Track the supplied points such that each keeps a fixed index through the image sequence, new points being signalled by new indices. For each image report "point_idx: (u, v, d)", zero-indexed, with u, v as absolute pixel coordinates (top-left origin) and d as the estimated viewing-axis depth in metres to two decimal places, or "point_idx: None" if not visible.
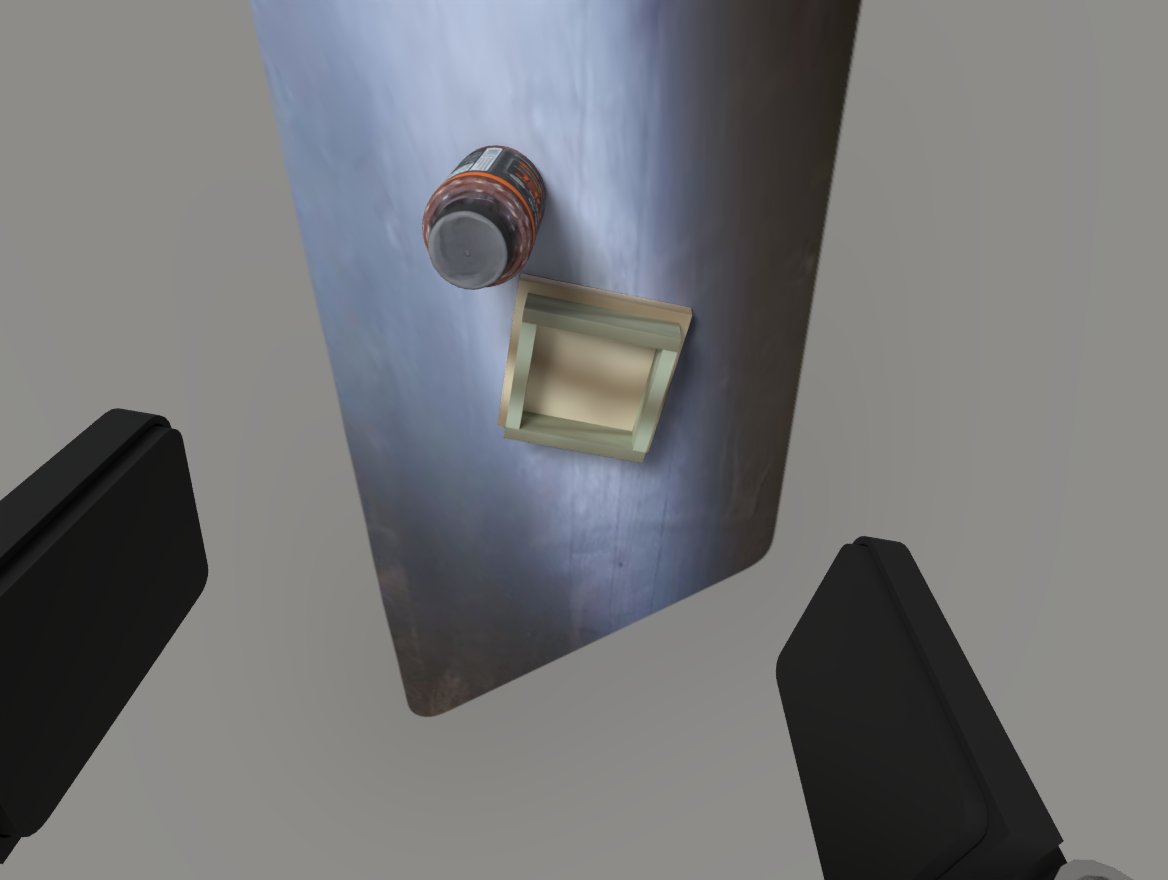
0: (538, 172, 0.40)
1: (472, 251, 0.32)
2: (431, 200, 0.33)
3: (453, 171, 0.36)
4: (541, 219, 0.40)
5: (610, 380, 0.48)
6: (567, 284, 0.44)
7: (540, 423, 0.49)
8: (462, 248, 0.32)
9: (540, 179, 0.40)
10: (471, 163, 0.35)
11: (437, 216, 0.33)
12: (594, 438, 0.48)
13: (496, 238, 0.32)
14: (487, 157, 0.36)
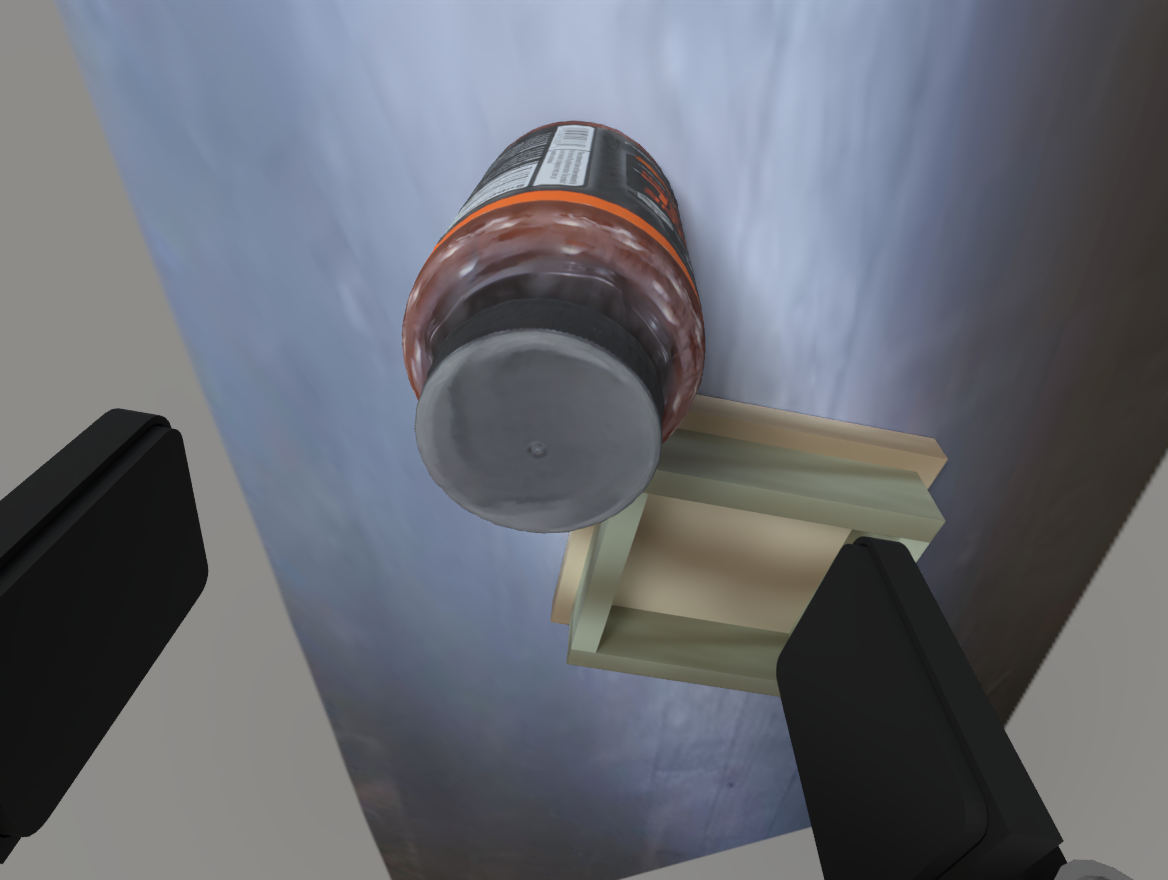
0: None
1: (553, 445, 0.10)
2: (425, 275, 0.11)
3: (483, 184, 0.14)
4: None
5: (764, 561, 0.26)
6: (700, 399, 0.23)
7: (631, 632, 0.27)
8: (522, 437, 0.10)
9: (674, 197, 0.18)
10: (531, 164, 0.14)
11: (443, 324, 0.11)
12: (730, 661, 0.27)
13: (633, 410, 0.10)
14: (568, 148, 0.14)
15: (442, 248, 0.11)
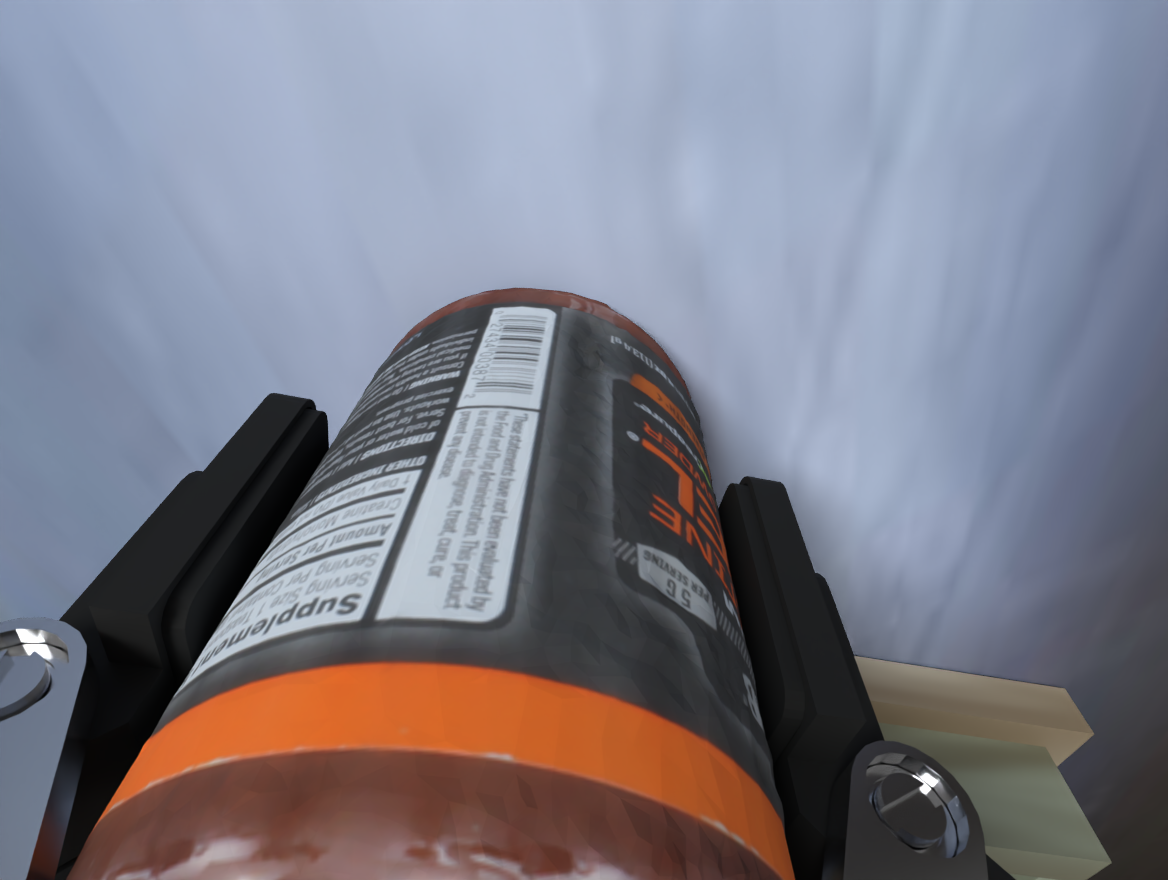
0: (681, 377, 0.11)
1: None
2: None
3: (326, 473, 0.07)
4: None
5: None
6: None
7: None
8: None
9: (694, 411, 0.10)
10: (409, 469, 0.06)
11: None
12: None
13: None
14: (497, 401, 0.07)
15: (94, 869, 0.04)
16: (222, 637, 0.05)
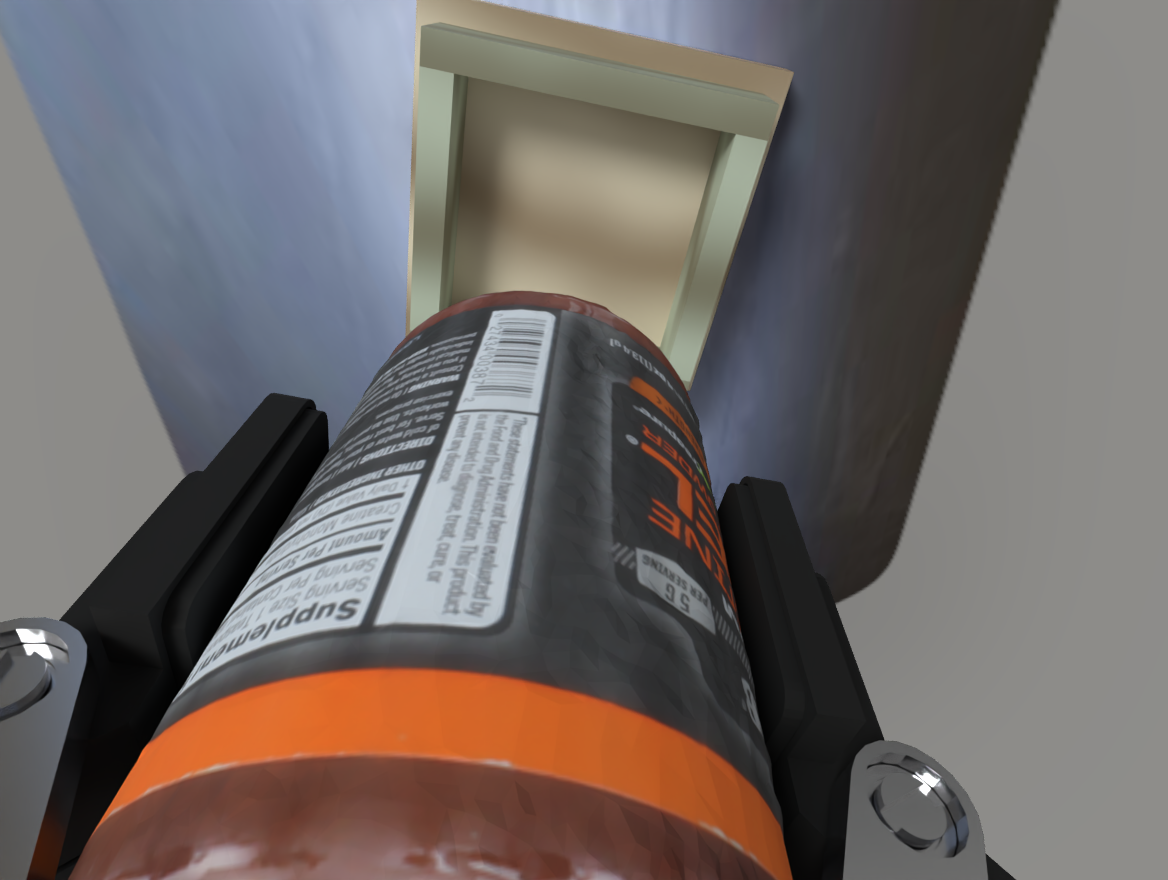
0: (680, 380, 0.11)
1: None
2: None
3: (325, 477, 0.07)
4: None
5: (619, 236, 0.24)
6: None
7: None
8: None
9: (694, 414, 0.10)
10: (408, 473, 0.06)
11: None
12: None
13: None
14: (496, 405, 0.07)
15: (92, 876, 0.04)
16: (221, 642, 0.05)
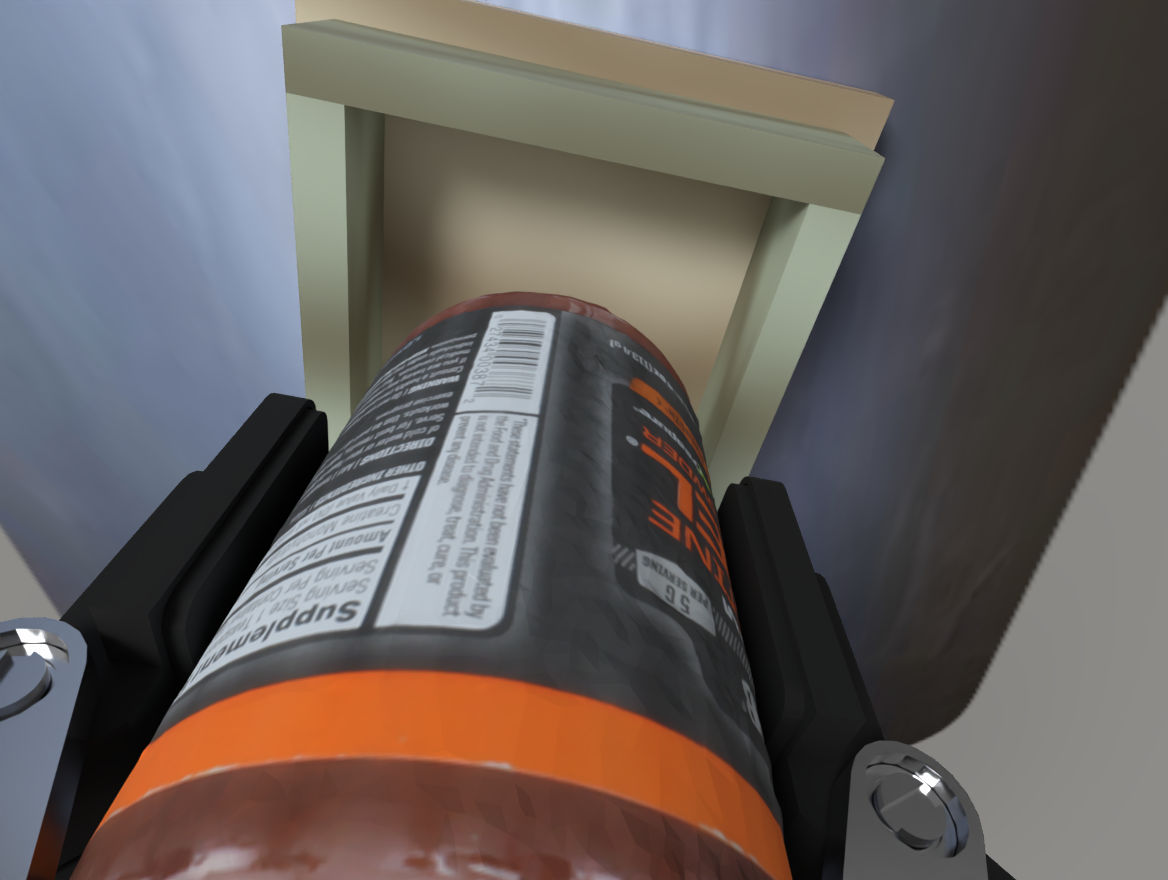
0: (680, 381, 0.11)
1: None
2: None
3: (325, 478, 0.07)
4: None
5: None
6: (474, 1, 0.13)
7: None
8: None
9: (694, 415, 0.10)
10: (408, 475, 0.06)
11: None
12: None
13: None
14: (496, 406, 0.07)
15: (92, 878, 0.04)
16: (221, 644, 0.05)
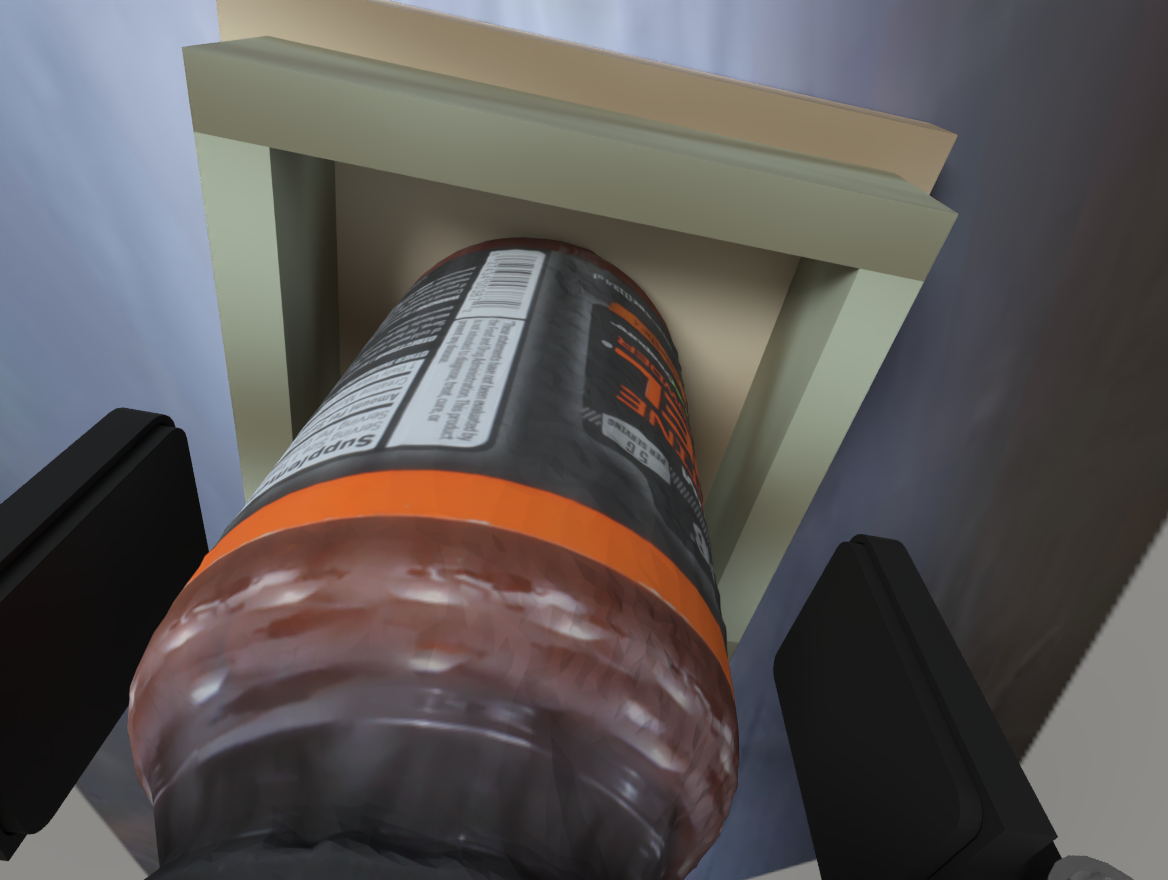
0: (661, 317, 0.12)
1: None
2: (144, 666, 0.05)
3: (346, 376, 0.09)
4: None
5: None
6: (442, 14, 0.11)
7: None
8: None
9: (672, 345, 0.12)
10: (415, 359, 0.08)
11: (169, 791, 0.05)
12: None
13: None
14: (489, 313, 0.09)
15: (175, 614, 0.05)
16: (264, 483, 0.07)
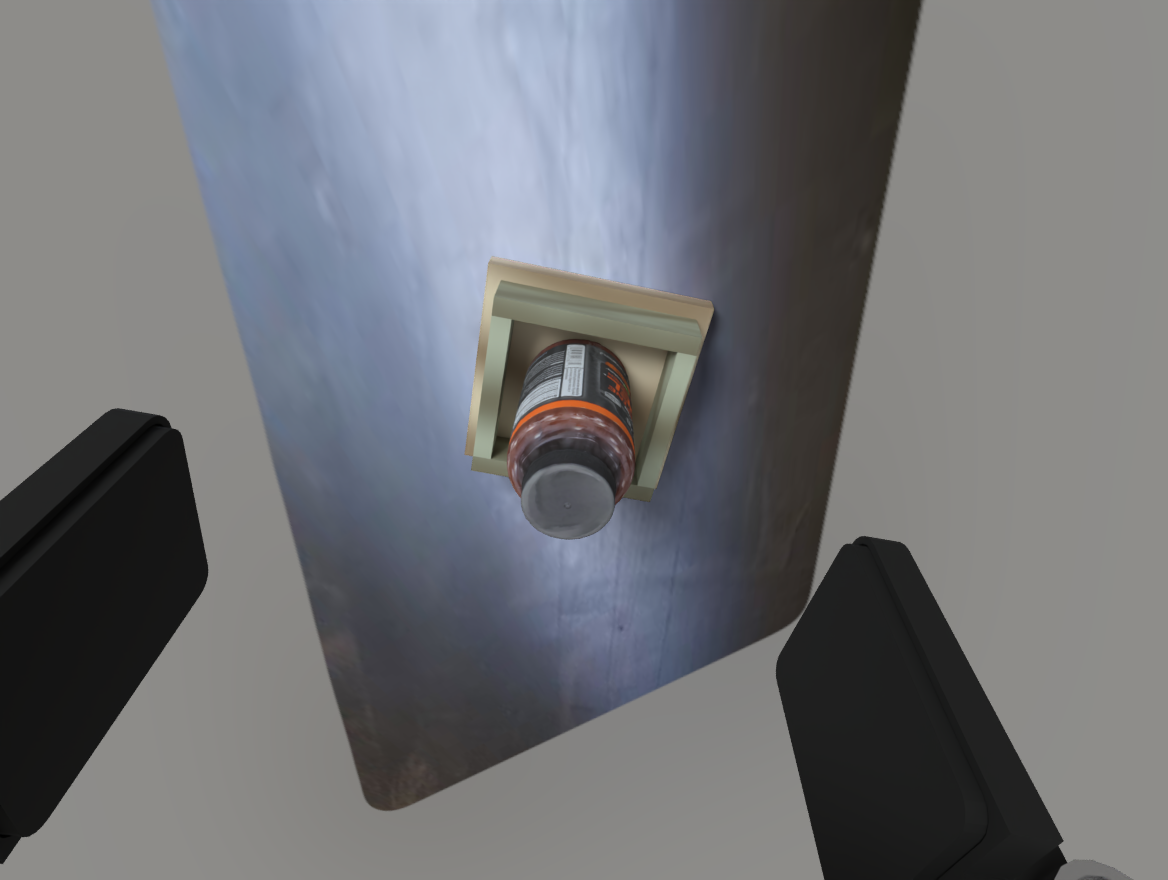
0: (622, 364, 0.35)
1: (573, 503, 0.27)
2: (519, 436, 0.29)
3: (535, 383, 0.32)
4: None
5: None
6: (552, 270, 0.34)
7: None
8: (561, 501, 0.27)
9: (626, 374, 0.35)
10: (558, 378, 0.31)
11: (528, 456, 0.28)
12: None
13: (602, 490, 0.27)
14: (573, 366, 0.32)
15: (526, 426, 0.28)
16: (528, 406, 0.30)
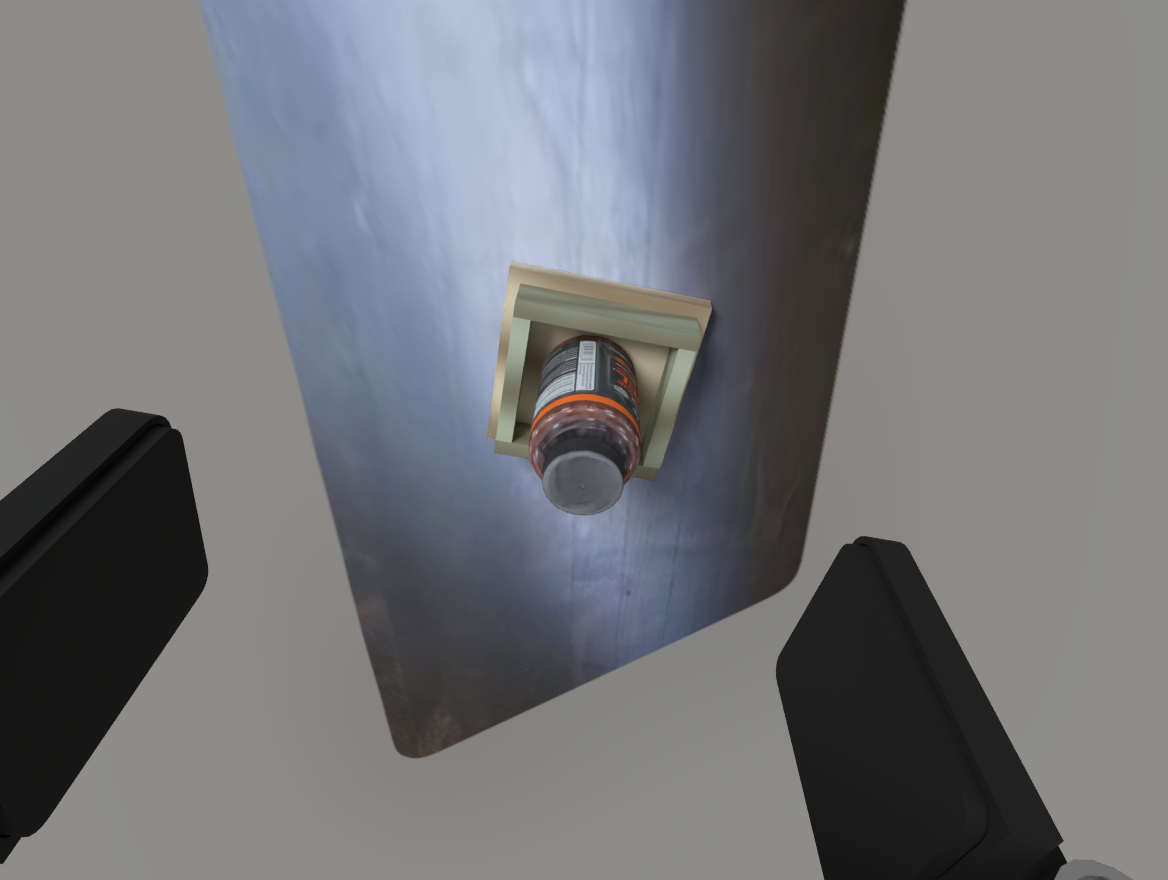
0: (629, 358, 0.39)
1: (587, 484, 0.31)
2: (540, 426, 0.33)
3: (552, 377, 0.36)
4: None
5: None
6: (566, 273, 0.38)
7: None
8: (577, 482, 0.31)
9: (633, 366, 0.39)
10: (572, 373, 0.35)
11: (547, 443, 0.32)
12: None
13: (613, 473, 0.31)
14: (586, 362, 0.36)
15: (546, 417, 0.33)
16: (547, 399, 0.34)
